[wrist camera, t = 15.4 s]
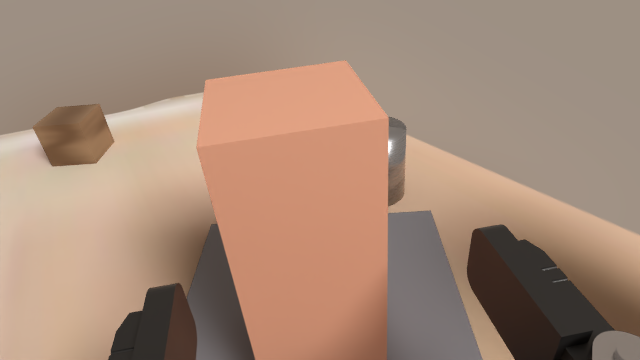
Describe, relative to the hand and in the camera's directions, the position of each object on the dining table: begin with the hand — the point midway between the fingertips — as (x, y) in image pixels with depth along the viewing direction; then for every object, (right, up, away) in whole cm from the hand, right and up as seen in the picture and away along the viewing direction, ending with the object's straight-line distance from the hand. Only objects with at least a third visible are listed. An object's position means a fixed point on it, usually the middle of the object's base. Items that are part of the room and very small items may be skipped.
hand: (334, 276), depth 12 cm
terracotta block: (0, -5, +8) cm, 9 cm away
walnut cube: (-22, +5, +28) cm, 36 cm away
